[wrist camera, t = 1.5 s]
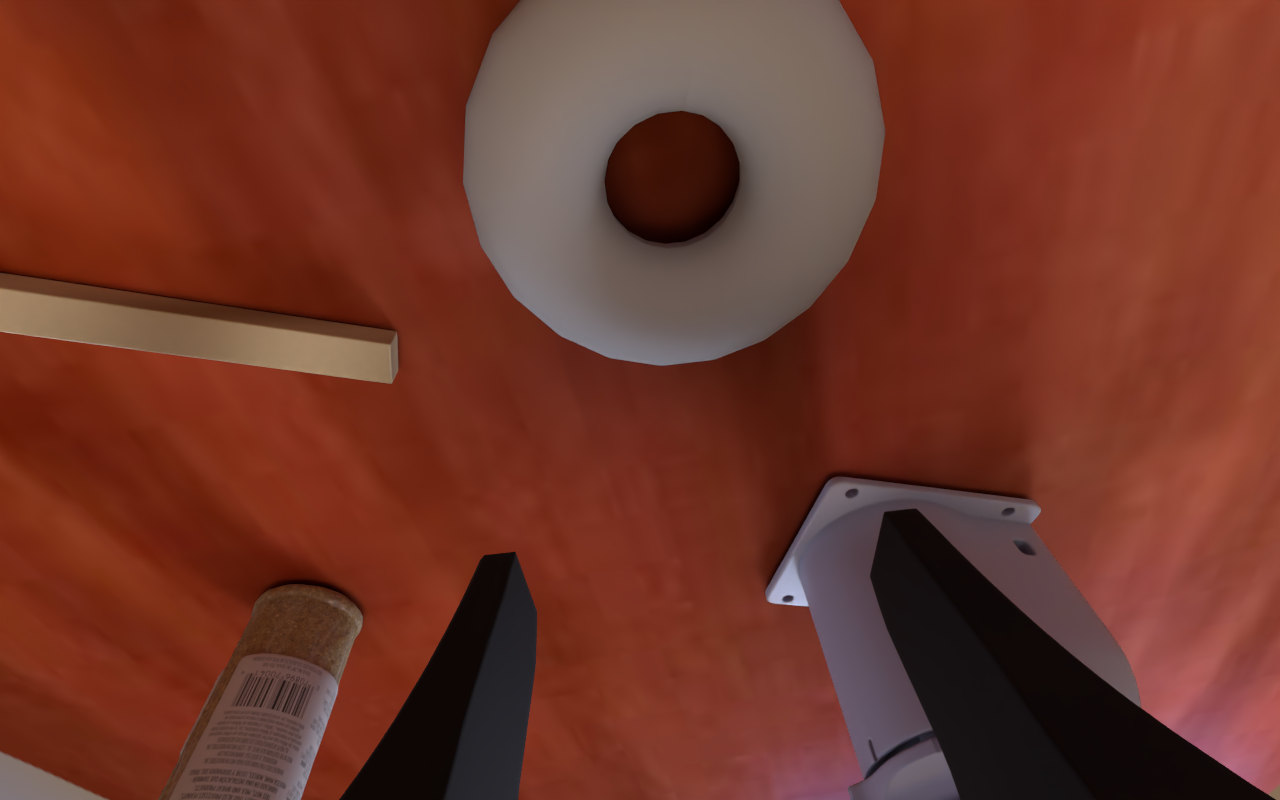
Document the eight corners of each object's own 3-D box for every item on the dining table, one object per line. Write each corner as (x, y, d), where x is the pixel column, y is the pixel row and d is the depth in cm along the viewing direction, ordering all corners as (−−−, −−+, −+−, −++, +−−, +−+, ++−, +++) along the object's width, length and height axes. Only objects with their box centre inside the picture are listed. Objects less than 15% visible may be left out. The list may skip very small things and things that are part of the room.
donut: (554, 356, 20) (864, 280, 18) (544, 425, 17) (908, 341, 16) (402, 3, 14) (849, -148, 12) (350, 20, 11) (916, -172, 10)
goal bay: (375, -408, 10) (359, -433, 9) (398, 370, 19) (391, 384, 19) (-633, -762, 8) (-742, -824, 7) (-55, 307, 17) (-80, 321, 17)
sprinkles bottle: (239, 612, 27) (0, 1058, 16) (290, 564, 25) (58, 1031, 14) (334, 648, 29) (179, 1062, 18) (387, 607, 27) (250, 1039, 16)
